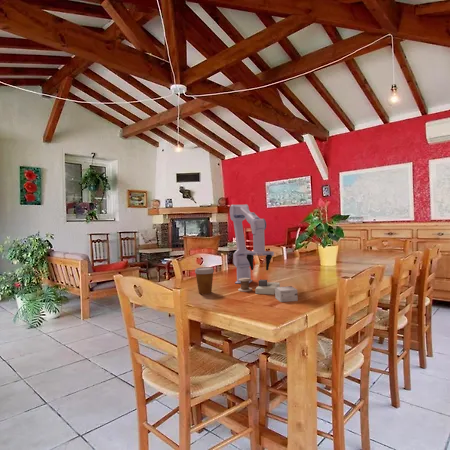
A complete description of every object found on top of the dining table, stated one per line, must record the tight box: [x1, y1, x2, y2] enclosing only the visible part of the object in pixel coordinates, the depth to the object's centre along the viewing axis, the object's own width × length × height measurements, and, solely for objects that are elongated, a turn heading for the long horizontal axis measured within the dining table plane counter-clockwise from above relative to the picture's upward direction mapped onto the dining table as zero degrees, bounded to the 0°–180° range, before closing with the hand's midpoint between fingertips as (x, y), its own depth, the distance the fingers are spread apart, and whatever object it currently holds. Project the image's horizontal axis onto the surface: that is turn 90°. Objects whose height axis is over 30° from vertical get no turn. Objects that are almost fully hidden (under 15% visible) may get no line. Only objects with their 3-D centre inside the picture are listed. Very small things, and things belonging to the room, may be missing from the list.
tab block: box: [258, 279, 268, 287], centre depth 164 cm, size 4×4×5 cm
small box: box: [274, 285, 299, 303], centre depth 144 cm, size 8×8×5 cm
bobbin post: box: [237, 278, 253, 292], centre depth 166 cm, size 7×7×6 cm
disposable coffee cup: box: [194, 266, 215, 295], centre depth 163 cm, size 10×10×12 cm
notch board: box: [254, 281, 281, 295], centre depth 163 cm, size 16×9×2 cm, turn 162°
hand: (259, 269), depth 166 cm, fingers open, 7 cm apart
